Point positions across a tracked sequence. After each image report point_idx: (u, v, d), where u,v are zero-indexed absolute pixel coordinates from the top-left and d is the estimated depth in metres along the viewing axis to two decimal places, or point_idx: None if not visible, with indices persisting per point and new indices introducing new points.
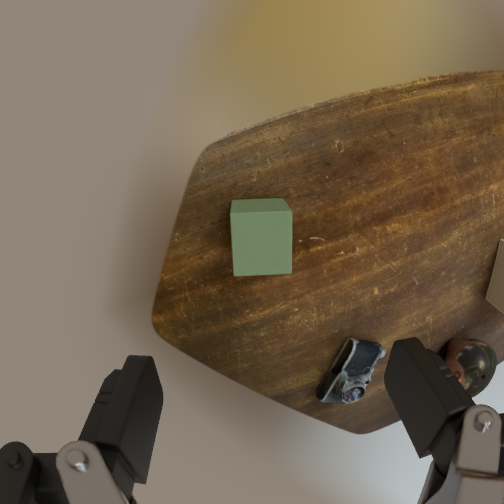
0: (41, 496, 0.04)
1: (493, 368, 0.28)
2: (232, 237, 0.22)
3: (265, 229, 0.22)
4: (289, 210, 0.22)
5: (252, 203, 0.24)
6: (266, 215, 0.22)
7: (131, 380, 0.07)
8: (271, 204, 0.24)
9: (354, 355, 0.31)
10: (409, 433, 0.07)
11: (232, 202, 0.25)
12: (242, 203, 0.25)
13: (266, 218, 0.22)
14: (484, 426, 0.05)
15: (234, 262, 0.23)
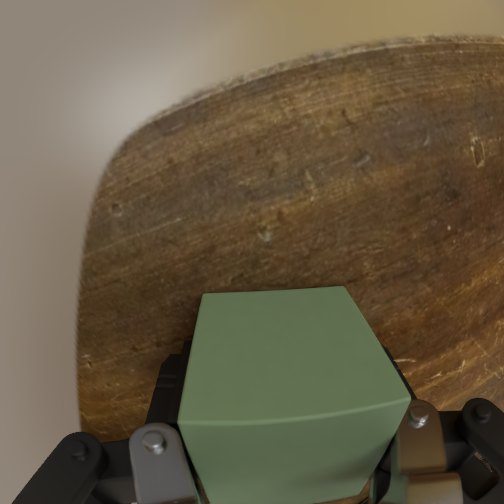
0: (99, 490, 0.05)
1: None
2: (197, 467, 0.05)
3: (309, 452, 0.05)
4: (401, 392, 0.05)
5: (262, 326, 0.08)
6: (319, 425, 0.05)
7: None
8: (325, 337, 0.07)
9: None
10: None
11: (201, 312, 0.08)
12: (230, 324, 0.08)
13: (319, 431, 0.05)
14: (417, 422, 0.05)
15: (211, 497, 0.06)
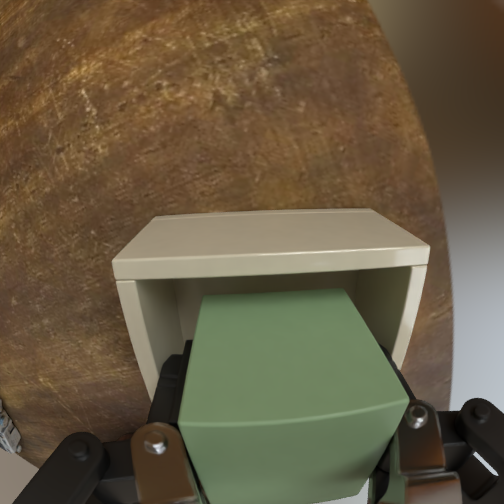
0: (101, 490, 0.05)
1: None
2: (197, 468, 0.05)
3: (308, 452, 0.05)
4: (399, 393, 0.05)
5: (262, 327, 0.08)
6: (318, 426, 0.05)
7: None
8: (325, 339, 0.07)
9: None
10: None
11: (201, 313, 0.08)
12: (230, 326, 0.08)
13: (317, 432, 0.05)
14: (416, 422, 0.05)
15: (211, 497, 0.06)
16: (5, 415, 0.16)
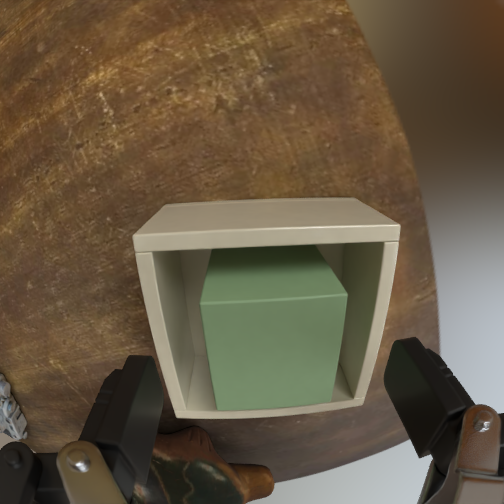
0: (41, 496, 0.04)
1: None
2: (208, 350, 0.09)
3: (283, 334, 0.09)
4: (341, 291, 0.09)
5: (253, 260, 0.12)
6: (286, 307, 0.09)
7: (131, 380, 0.07)
8: (294, 265, 0.11)
9: None
10: (409, 433, 0.07)
11: (212, 255, 0.12)
12: (232, 259, 0.12)
13: (287, 312, 0.09)
14: (484, 426, 0.05)
15: (216, 391, 0.10)
16: (13, 401, 0.18)
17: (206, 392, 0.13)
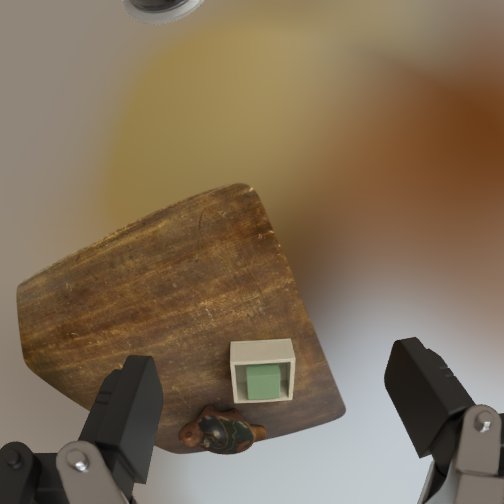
0: (41, 496, 0.04)
1: (237, 439, 0.42)
2: (247, 385, 0.39)
3: (265, 381, 0.39)
4: (278, 373, 0.38)
5: None
6: (266, 376, 0.38)
7: (131, 380, 0.07)
8: (269, 363, 0.40)
9: None
10: (409, 433, 0.07)
11: None
12: None
13: (266, 377, 0.38)
14: (484, 426, 0.05)
15: (248, 394, 0.39)
16: None
17: (243, 395, 0.42)
